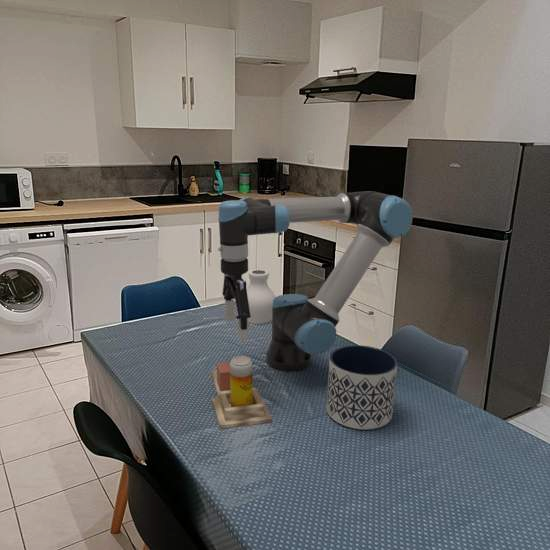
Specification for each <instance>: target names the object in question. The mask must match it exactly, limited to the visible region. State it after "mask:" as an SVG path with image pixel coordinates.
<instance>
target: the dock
mask: <svg viewBox="0 0 550 550" xmlns="http://www.w3.org/2000/svg"><path fill="white" fill-rule="evenodd" d="M210 375H211V378H212V381H213V384H214V388H215V390H216V394H217V397H215V398H214V397H212V398H211V403H212V406H213V411H214V413H215V417H216V420H217V424H218V426H219V430H221V429H222V430H223V429H229V428H237V427H245V426H250V425H251V426H253V425H260V424H267V423H272V420H273V419H272V417H271V415H270V412H269V410H268V408H267V406H266V404H265V402H264V400H263V398H262V396H261V393H260V392H258V391H257V389H256V387H255V386H253V405H246V406H238V407H231V391H230V390H228V391H220V389H219V386H218V383H217V369H214V370H213V369H212V370H210Z"/></svg>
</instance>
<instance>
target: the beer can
mask: <svg viewBox="0 0 550 550" xmlns="http://www.w3.org/2000/svg"><path fill="white" fill-rule="evenodd" d="M229 363H230V391H231V407H238V406H246V405H253V388H254V384H253V383H254V382H253V381H254V375H253V374H254V373H253V365H254V364H253V362H252V359H251V357H249V356H247V355H237V356H234V357H231V360H230V362H229Z"/></svg>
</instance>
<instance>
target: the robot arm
mask: <svg viewBox="0 0 550 550" xmlns="http://www.w3.org/2000/svg"><path fill="white" fill-rule="evenodd" d="M413 217H414V216H413V210H412V207H411V205H410V204H409V202H408V201H407V200H405V199H404V198H402V197H398V195H391V194H386V193H382V192H378V191H374V190H373V191H370V190H368V191H367V190H366V191H355V192H341V193H339V194H338V195H336V196H319V197H318V196H317V197H313V196H312V197H285V198H284V197H282V198H279V197H278V198H257V199H256V198H255V199H254V198H252V197H242V198H240V199H239V200H236V199H235V200H232V199H231V200H225V201H222V202H220V204H219V206H218V227H219V247H218V248H217V250H218V252H220V253H219V254H220V272H221V273H222V274H223V276H224V277H223V286H222V296H223V300H224V310H225V311H224V313H225V314H224V315H225V316H224V317H225V320H224V321H225V323H231V322H235V321H236V320H237V340H238V341H244V340H249V323H248V318H250V317H251V315H250V309H249V303H248V296H247V281H246V280H244V278H243V275H244V274H246V273H249V259H248V257H249V240H248V238H249V237H248V236H256V235H257V236H258V235H266V234H268V235H269V234H278V233H283V232H286V231H287V230H288V229H289V227H290V224H291V223H292V224H294V223H308V222H310V223H312V222H314V223H315V222H334V221H337V222H338V223H340V224H353V225H356V229H357V233H356V235H355V236H354V237H353V239H352V241H351V242H350V244H349V245H348V247H347V248H346V249H345V250H344V253H343V254H342V255H341V258H340V259H339V260H338V262H337V263H336V265H335V266H334V268H333V270H332V271H331V273H330V274H329V275H328V277H327V278H326V279H325V282H324V283H323V285H322V286H321V287H320V289H319V291H318V292H317V293H316V295H315V296H314V297H313V298H309V297H308V296H307V295H304V294H301V293H300V294H298V293H288V294H286V293H285V294H281V295H277V296H275V298H274V300H273V306H272V321H271V341H270V343H269V346H268V348H267V352H266V356H265V357H266V358H265V362H266V363H267V365H268V366H269V367H271V368H273V369H275V370H278V371H284V372H295V371H296V372H298V371H302V370H304V369H307V368H309V367H310V365H311V364H312V355H318V354H323V353H325V352H327V351H328V350H329V349H330V348H331V347H333V345H334V344H335V342H336V340H337V329H336V327H337V325H338V324H339V323H340V315H339V313H340V312H341V310H342V308H343V307H344V306H345V304H346V302H347V301H348V300H349V298H350V296H351V295H352V294H353V292H354V291H355V289H356V287H357V285H358V284H359V283H360V281H361V280H362V279H363V277H364V275H365V273H366V272H367V271H368V269H369V268H370V266H371V265H372V263H373V261H374V260H375V259H376V257H377V256H378V254H379V253H380V251H381V249H382V248H385V247H389V246H390V245H391V243H392V242H393V241H394V239H397V238H401V237H404V236H405V235H406V234H407V233H408V232H409V231H410V228H411V227H412V224H413ZM235 306H236V308H235ZM235 309H236V310H237V316H236V313H235V311H236V310H235ZM243 313H245V314H243Z"/></svg>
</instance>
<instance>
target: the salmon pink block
mask: <svg viewBox="0 0 550 550" xmlns="http://www.w3.org/2000/svg"><path fill="white" fill-rule="evenodd" d="M216 370H217V383H218V386H219V389H220V391H228V390H230V362H221V363H220V362H219V363H216Z"/></svg>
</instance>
